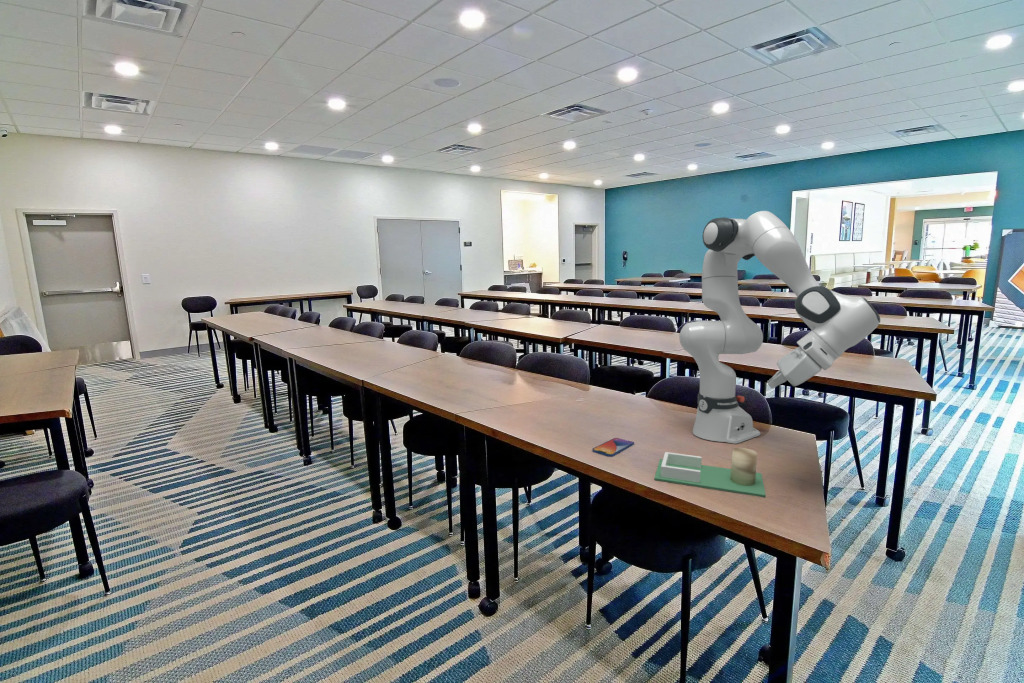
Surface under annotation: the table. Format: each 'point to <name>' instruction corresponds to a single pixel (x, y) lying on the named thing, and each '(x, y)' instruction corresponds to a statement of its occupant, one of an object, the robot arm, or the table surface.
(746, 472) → the maple canister
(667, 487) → the table surface
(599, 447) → the smartphone
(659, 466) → the putting green
